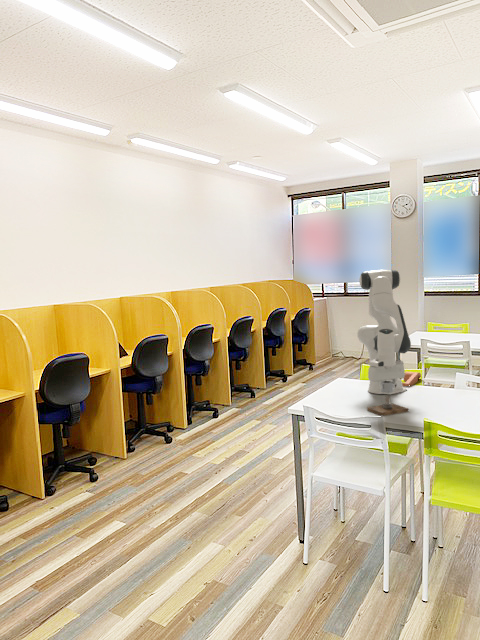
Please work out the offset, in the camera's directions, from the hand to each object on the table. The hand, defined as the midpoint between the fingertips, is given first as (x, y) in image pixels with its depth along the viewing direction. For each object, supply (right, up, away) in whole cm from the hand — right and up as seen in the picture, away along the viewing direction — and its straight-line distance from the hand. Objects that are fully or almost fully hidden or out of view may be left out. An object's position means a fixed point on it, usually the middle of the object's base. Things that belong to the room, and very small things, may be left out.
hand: (387, 388), depth 246 cm
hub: (0, -2, 0) cm, 2 cm away
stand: (+1, -12, +1) cm, 12 cm away
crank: (+30, -7, +54) cm, 62 cm away
